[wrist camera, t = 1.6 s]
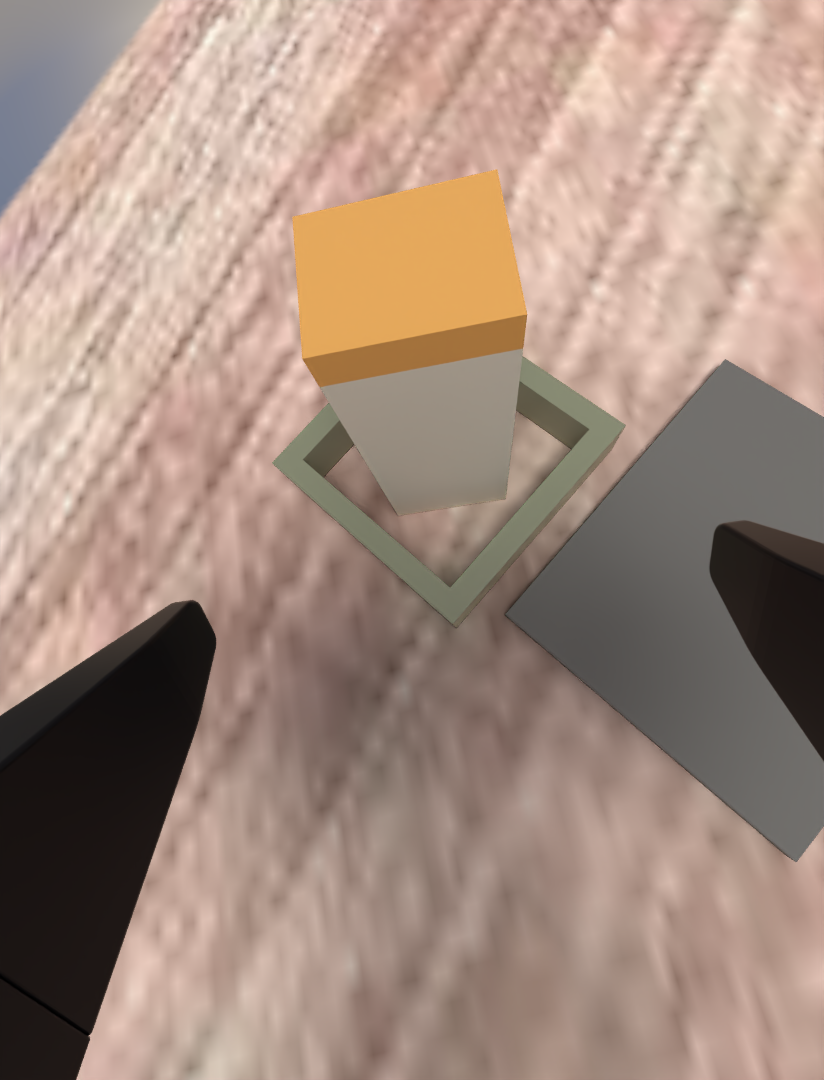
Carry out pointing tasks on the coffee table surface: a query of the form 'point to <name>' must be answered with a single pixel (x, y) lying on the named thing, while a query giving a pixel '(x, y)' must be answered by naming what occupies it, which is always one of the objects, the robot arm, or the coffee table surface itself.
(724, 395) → the rubber mat
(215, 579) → the coffee table surface
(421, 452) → the block
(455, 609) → the case bay
